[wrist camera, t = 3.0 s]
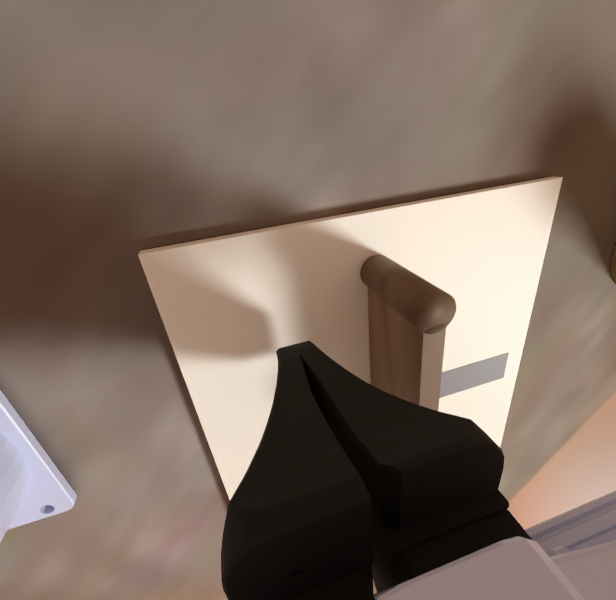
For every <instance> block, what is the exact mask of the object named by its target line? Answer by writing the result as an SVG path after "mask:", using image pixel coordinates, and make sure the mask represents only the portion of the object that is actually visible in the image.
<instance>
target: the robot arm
mask: <svg viewBox="0 0 616 600" xmlns="http://www.w3.org/2000/svg"><path fill="white" fill-rule="evenodd" d="M276 354H277V359H278V373H277V383H276V389H275V394H274V399H273V404H272V408H271V412H270V415H269V418H268V422H267V425H266V428H265V430H264V433H263V436H262V439H261V441H260V444H259V446H258V448H257V450H256V453H255V455H254V457H253V459H252V461H251V463H250V465H249V468H248V470H247V471H246V473H245V475H244V477H243V479H242V481H241V482H240V484H239V486H238V488H237V489H236V491H235V493H234V495H233V496H232V498H231V500H230V502H229V506H228V511H227V515H226V520H225V526H224V532H223V539H222V550H221V573H222V585H223V590H224V592H225V594H226V596H227V598H228V600H616V491H614V492H612V493H609V494H607V495H605V496H603V497H600V498H598V499H595V500H593V501H591V502H588V503H586V504H584V505H581V506H579V507H577V508H574V509H572V510H570V511H567V512H565V513H563V514H561V515H558V516H556V517H553V518H551V519H549V520H546V521H544V522H542V523H539V524H537V525H535V526H532V527H530V528H528V529H525V530H524V529H523V528H522V526H521V525H520V524H519V523H518V522H517V520H516V519H515V518H514V517H513V516H512V514H511V513H510V512H509V511H508V510H507V508H508V507H509V503H508V501H507V500H506V498H505V497H504V496H503V495H502V494H501V493H500V491H499V490H498V487H499V483H500V479H501V475H502V471H503V465H504V455H503V452H502V449H501V448H500V447H499V446H498V445H497V444H496V443H495V442H494V441H493V440H492V439H491V438H490V437H489V436H488V435H487V434H486V433H485V432H484V431H483V430H482V429H481V428H480V427H479V426H478V425H477V424H475V423H474V422H473V421H472V420H471V419H467V418H463V417H459V416H455V415H451V414H447V413H443V412H439V411H436V410H432V409H429V408H426V407H423V406H420V405H417V404H414V403H411V402H408V401H406V400H403V399H401V398H399V397H396V396H394V395H391V394H389V393H387V392H385V391H382V390H380V389H378V388H376V387H375V386H373V385H371V384H369V383H367V382H365V381H363V380H362V379H360V378H359V377H357V376H355V375H354V374H352V373H351V372H349V371H348V370H346V369H345V368H343V367H342V366H341V365H339V364H338V363H337V362H335V361H334V360H333V359H331V358H330V357H329V356H327V355H326V354H325V353H324V352H323V351H321V350H320V349H319V348H318V347H317V346H316V345H314V344H313V343H312V342H311V341H305V342H301V343H297V344H294V345H290V346H286V347H282V348H278V350H277V351H276ZM76 498H77V496H76V494H75V492H74V491H73V489H72V488H71V487H70V485H69V484H68V482H67V481H66V480H65V478H64V477H63V476H62V474H61V473H60V471H59V470H58V469H57V467H56V466H55V465H54V463H53V462H52V460H51V459H50V458H49V456H48V455H47V454H46V452H45V451H44V449H43V448H42V447H41V445H40V444H39V442H38V441H37V440H36V438H35V437H34V436H33V434H32V433H31V431H30V430H29V429H28V427H27V426H26V425H25V423H24V422H23V420H22V419H21V418H20V416H19V415H18V414H17V412H16V411H15V409H14V408H13V407H12V405H11V404H10V402H9V401H8V400H7V398H6V397H5V396H4V394H3V393H2V391H1V390H0V542H1V541H2V539H3V537H4V535H5V533H6V531H7V530H8V529H11V528H14V527H18V526H21V525H24V524H27V523H30V522H33V521H37V520H40V519H43V518H46V517H49V516H52V515H56V514H59V513H62V512H65V511H67V510H69V509H71V508H72V507H73V505H74V503H75V500H76ZM373 580H374V584H375V587H376V590H377V593H376V594H374V595H373Z"/></svg>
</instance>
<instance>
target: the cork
mask: <svg viewBox="0 0 616 600" xmlns="http://www.w3.org/2000/svg"><path fill="white" fill-rule="evenodd" d="M611 275H612V277H613V280H614V282H615V283H616V244H615V248H614V251H613V255H612V259H611Z"/></svg>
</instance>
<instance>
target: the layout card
mask: <svg viewBox="0 0 616 600" xmlns="http://www.w3.org/2000/svg"><path fill="white" fill-rule="evenodd" d="M562 179H563V177H546V178H541V179H535V180H530V181H524V182H519V183H513V184H508V185H502V186H497V187H491V188H485V189H480V190H474V191H469V192H463V193H458V194H452V195H447V196H441V197H436V198H430V199H424V200H419V201H413V202H408V203H402V204H397V205H391V206H386V207H380V208H374V209H369V210H363V211H358V212H352V213H347V214H341V215H336V216H330V217H325V218H319V219H313V220H308V221H302V222H297V223H291V224H286V225H280V226H275V227H269V228H264V229H258V230H252V231H247V232H241V233H236V234H230V235H225V236H219V237H214V238H208V239H202V240H197V241H191V242H186V243H180V244H175V245H169V246H164V247H158V248H153V249H147V250H141V251H140V252H139V254H138V257H139V259H140V262H141V265H142V267H143V270H144V273H145V275H146V278H147V281H148V283H149V286H150V289H151V291H152V294H153V297H154V299H155V302H156V305H157V307H158V310H159V313H160V315H161V318H162V321H163V323H164V326H165V329H166V331H167V334H168V337H169V339H170V342H171V345H172V347H173V350H174V353H175V355H176V358H177V361H178V363H179V366H180V369H181V371H182V374H183V377H184V380H185V382H186V385H187V388H188V390H189V393H190V396H191V398H192V401H193V404H194V406H195V409H196V412H197V414H198V417H199V420H200V422H201V425H202V428H203V430H204V433H205V436H206V438H207V441H208V444H209V446H210V449H211V452H212V454H213V457H214V460H215V462H216V465H217V468H218V470H219V473H220V476H221V478H222V481H223V484H224V486H225V489H226V492H227V494H228V497H229V500H231V498H232V496H233V495H234V493H235V491H236V489H237V488H238V486H239V484H240V482H241V481H242V479H243V477H244V475H245V473H246V471H247V470H248V468H249V465H250V463H251V461H252V459H253V457H254V455H255V453H256V450H257V448H258V446H259V444H260V441H261V439H262V436H263V433H264V430H265V428H266V425H267V422H268V418H269V415H270V412H271V408H272V404H273V399H274V394H275V389H276V383H277V373H278V359H277V354H276V351H277V350H278V348H282V347H286V346H290V345H294V344H297V343H301V342H305V341H311V342H312V343H313V344H314V345H316V346H317V347H318V348H319V349H320V350H321V351H323V352H324V353H325V354H326V355H327V356H329V357H330V358H331V359H333V360H334V361H335V362H337V363H338V364H339V365H341V366H342V367H343V368H345V369H346V370H348V371H349V372H351V373H352V374H354V375H355V376H357V377H359V378H360V379H362V380H363V381H365V382H367V383H369V384H371V376H370V346H369V316H368V287H367V285H366V284H364V283H363V281H362V280H361V276H360V271H361V267H362V265H363V263H364V262H365V261H366V260H367V259H368V258H369V257H371V256H373V255H384V256H386V257H388V258H389V259H391V260H393V261H394V262H396V263H398V264H399V265H401V266H403V267H404V268H406V269H408V270H409V271H411V272H413V273H414V274H416V275H418V276H419V277H421V278H423V279H425V280H426V281H428V282H430V283H431V284H433V285H435V286H436V287H438V288H440V289H441V290H443V291H445V292H446V293H448V294H450V295H451V296H452V297H453V298H454V299H455V302H456V312H455V315H454V318H453V319H452V321H451V322H450V324H449V325H448V326H447V327H446V334H445V344H444V355H443V365H442V376H441V386H440V397H439V407H438V411H439V412H443V413H447V414H451V415H455V416H459V417H463V418H467V419H471V420H472V421H473V422H474V423H475V424H477V425H478V426H479V427H480V428H481V429H482V430H483V431H484V432H485V433H486V434H487V435H488V436H489V437H490V438H491V439H492V440H493V441H494V442H495V443H496V444H497V445H498V446H499V447H500V446H501V442H502V437H503V433H504V429H505V424H506V420H507V416H508V411H509V407H510V403H511V398H512V394H513V390H514V386H515V381H516V377H517V373H518V368H519V364H520V360H521V355H522V351H523V347H524V343H525V338H526V334H527V330H528V325H529V321H530V317H531V312H532V308H533V304H534V299H535V295H536V291H537V287H538V282H539V278H540V274H541V269H542V265H543V261H544V256H545V252H546V248H547V244H548V239H549V235H550V231H551V226H552V222H553V218H554V213H555V209H556V205H557V200H558V196H559V192H560V188H561V183H562Z"/></svg>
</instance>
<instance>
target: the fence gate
mask: <svg viewBox="0 0 616 600" xmlns="http://www.w3.org/2000/svg"><path fill="white" fill-rule="evenodd" d="M360 276H361V280H362V281H363V283H364V284H366V285H367V287H368V316H369V346H370V376H371V385H373V386H375V387H376V388H378V389H380V390H382V391H385V392H387V393H389V394H391V395H394V396H396V397H399V398H401V399H403V400H406V401H408V402H411V403H414V404H417V405H420V406H423V407H426V408H429V409H432V410H436V411H438V407H439V397H440V386H441V376H442V365H443V355H444V344H445V334H446V327H447V326H448V325H449V324H450V322H451V321H452V319H453V318H454V315H455V312H456V302H455V299H454V298H453V297H452V296H451V295H450V294H448V293H446V292H445V291H443V290H441V289H440V288H438V287H436V286H435V285H433V284H431V283H430V282H428V281H426V280H425V279H423V278H421V277H419V276H418V275H416V274H414V273H413V272H411V271H409V270H408V269H406V268H404V267H403V266H401V265H399V264H398V263H396V262H394V261H393V260H391V259H389V258H388V257H386V256H384V255H373V256H371V257H369V258H368V259H367V260H366V261H365V262H364V263H363V265H362V267H361V271H360Z"/></svg>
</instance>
